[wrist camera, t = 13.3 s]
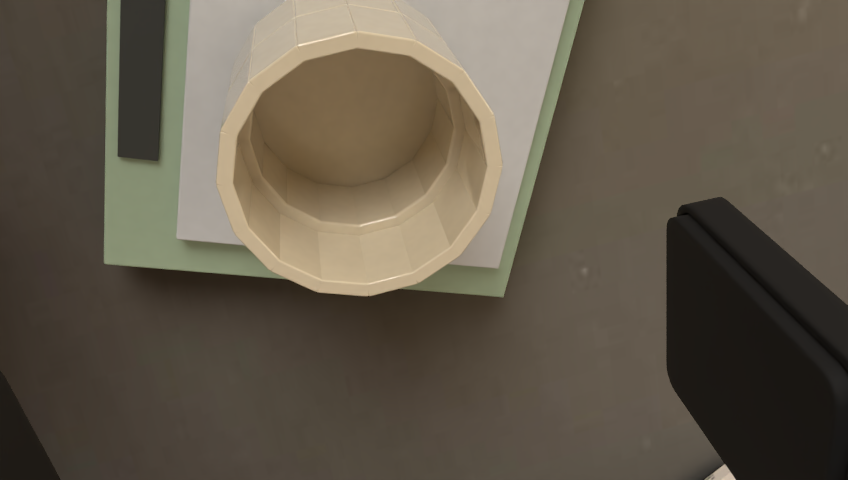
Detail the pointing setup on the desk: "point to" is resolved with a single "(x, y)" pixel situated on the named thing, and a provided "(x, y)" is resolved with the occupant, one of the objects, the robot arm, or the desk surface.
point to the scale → (204, 106)
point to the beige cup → (354, 147)
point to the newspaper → (721, 474)
